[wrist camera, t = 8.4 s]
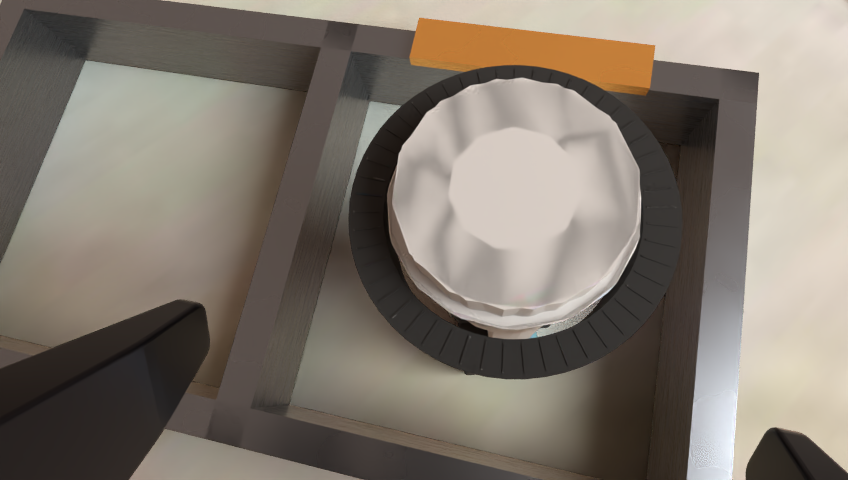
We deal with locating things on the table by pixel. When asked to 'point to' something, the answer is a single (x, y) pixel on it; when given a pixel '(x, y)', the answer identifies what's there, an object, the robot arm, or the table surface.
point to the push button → (515, 220)
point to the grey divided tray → (327, 182)
